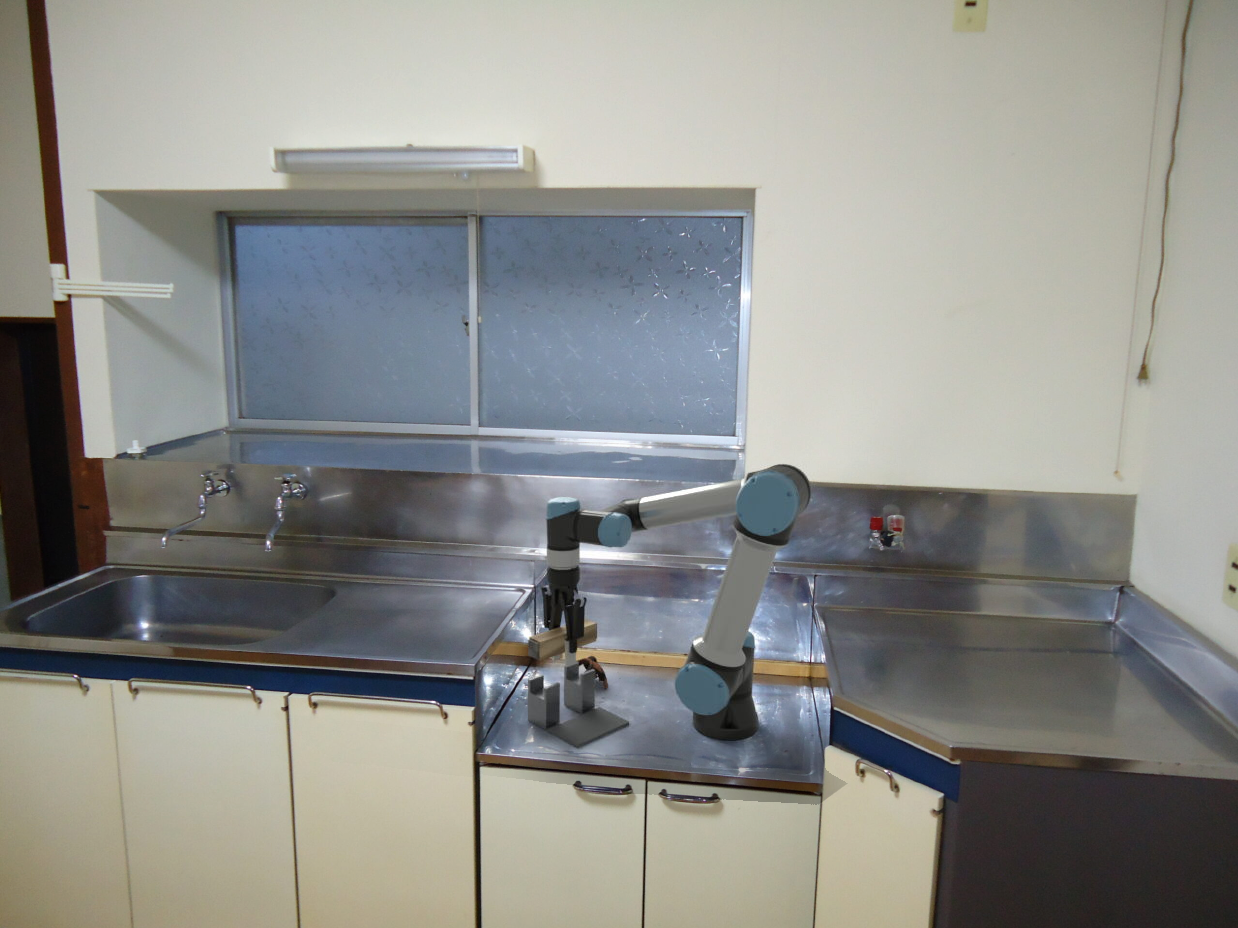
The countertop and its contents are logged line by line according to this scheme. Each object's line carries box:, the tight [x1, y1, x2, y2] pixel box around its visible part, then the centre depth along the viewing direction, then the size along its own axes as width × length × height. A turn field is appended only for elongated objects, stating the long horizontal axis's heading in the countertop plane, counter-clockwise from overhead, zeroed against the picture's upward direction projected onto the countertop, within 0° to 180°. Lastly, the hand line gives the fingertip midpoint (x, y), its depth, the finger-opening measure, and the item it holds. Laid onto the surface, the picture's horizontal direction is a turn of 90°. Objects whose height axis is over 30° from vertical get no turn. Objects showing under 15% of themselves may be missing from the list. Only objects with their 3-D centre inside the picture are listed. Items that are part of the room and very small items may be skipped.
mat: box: [547, 706, 630, 749], centre depth 185 cm, size 10×16×1 cm, turn 135°
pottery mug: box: [576, 655, 609, 691], centre depth 207 cm, size 12×10×8 cm
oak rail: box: [527, 618, 598, 662], centre depth 188 cm, size 4×18×4 cm, turn 135°
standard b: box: [527, 674, 561, 731], centre depth 187 cm, size 7×4×10 cm, turn 45°
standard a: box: [563, 662, 596, 715], centre depth 194 cm, size 7×4×10 cm, turn 45°
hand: (563, 661), depth 189 cm, fingers closed on oak rail, 4 cm apart
